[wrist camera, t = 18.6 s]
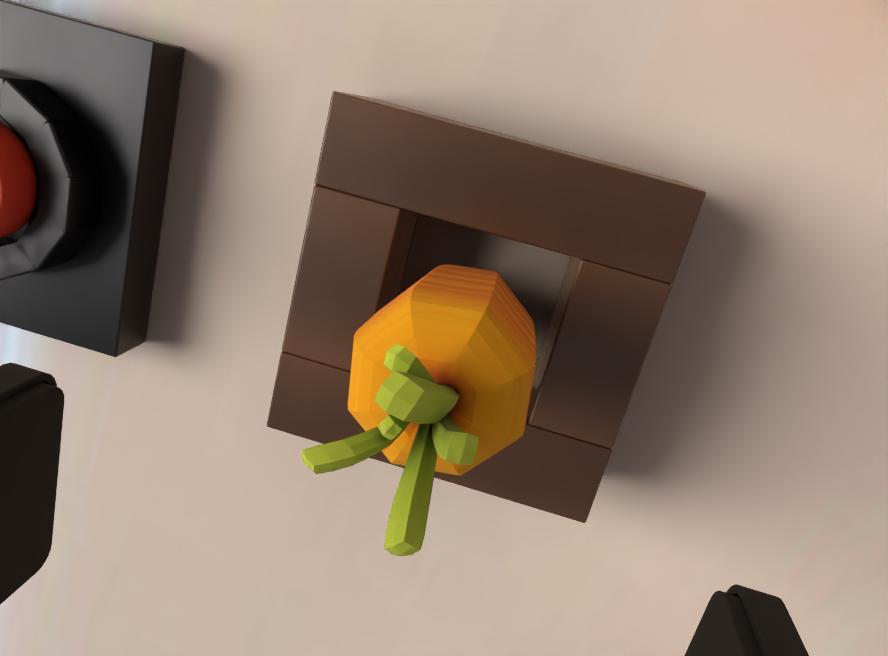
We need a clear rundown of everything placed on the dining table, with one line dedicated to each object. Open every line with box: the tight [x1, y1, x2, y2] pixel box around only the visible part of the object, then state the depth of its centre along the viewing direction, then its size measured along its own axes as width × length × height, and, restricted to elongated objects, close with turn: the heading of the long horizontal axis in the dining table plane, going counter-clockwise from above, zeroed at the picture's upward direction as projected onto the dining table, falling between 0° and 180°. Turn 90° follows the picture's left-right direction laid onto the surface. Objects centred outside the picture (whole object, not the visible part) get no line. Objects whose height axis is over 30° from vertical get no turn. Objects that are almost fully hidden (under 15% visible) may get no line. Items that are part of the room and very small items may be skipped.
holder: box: [267, 91, 706, 523], centre depth 26 cm, size 12×12×4 cm
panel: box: [0, 0, 185, 357], centre depth 27 cm, size 12×10×4 cm
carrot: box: [301, 264, 536, 556], centre depth 20 cm, size 5×5×15 cm
